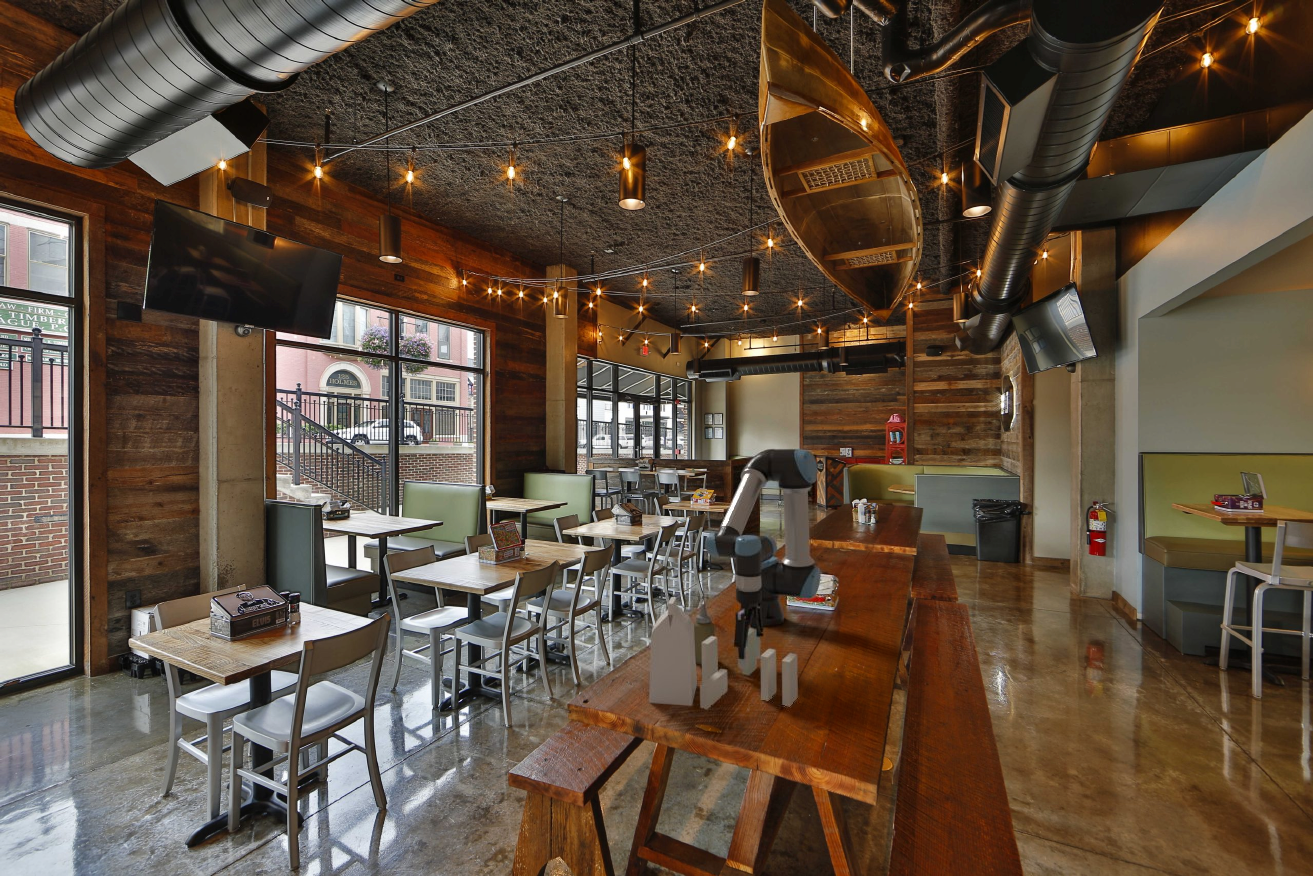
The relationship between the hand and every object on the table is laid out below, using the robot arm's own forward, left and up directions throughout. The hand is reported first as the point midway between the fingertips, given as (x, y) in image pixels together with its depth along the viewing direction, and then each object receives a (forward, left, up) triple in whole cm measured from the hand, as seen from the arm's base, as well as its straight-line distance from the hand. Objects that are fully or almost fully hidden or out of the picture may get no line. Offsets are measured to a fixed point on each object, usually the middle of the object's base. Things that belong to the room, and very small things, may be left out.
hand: (749, 663), depth 171 cm
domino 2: (+15, -1, 0) cm, 15 cm away
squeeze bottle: (+1, -15, -3) cm, 15 cm away
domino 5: (+12, +17, -2) cm, 21 cm away
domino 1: (+12, -7, -2) cm, 14 cm away
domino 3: (0, 0, -2) cm, 2 cm away
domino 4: (+12, +11, -2) cm, 16 cm away
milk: (+24, -12, -3) cm, 27 cm away
